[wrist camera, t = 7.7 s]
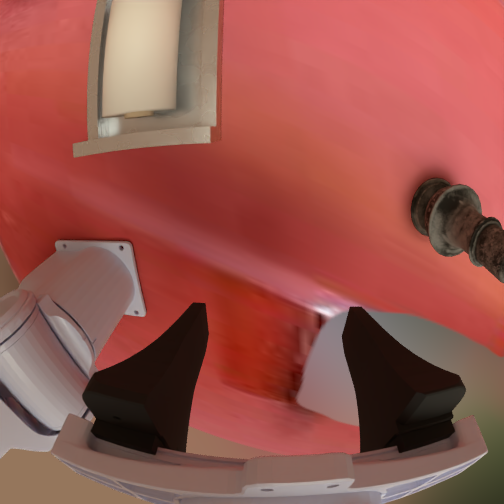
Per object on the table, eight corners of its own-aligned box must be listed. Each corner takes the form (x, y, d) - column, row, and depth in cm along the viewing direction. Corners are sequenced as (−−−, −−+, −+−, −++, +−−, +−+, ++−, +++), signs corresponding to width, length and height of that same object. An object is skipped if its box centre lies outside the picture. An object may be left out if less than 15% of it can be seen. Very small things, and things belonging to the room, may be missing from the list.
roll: (119, 121, 17) (89, 122, 13) (129, -4, 12) (106, -28, 8) (182, 114, 18) (166, 111, 13) (189, -14, 12) (180, -44, 8)
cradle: (102, 150, 19) (73, 157, 15) (112, -13, 12) (89, -27, 8) (221, 140, 18) (210, 143, 15) (226, -37, 11) (218, -62, 8)
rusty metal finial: (447, 243, 21) (526, 320, 10) (400, 233, 21) (481, 322, 10) (465, 184, 18) (561, 237, 7) (417, 166, 18) (526, 217, 7)
